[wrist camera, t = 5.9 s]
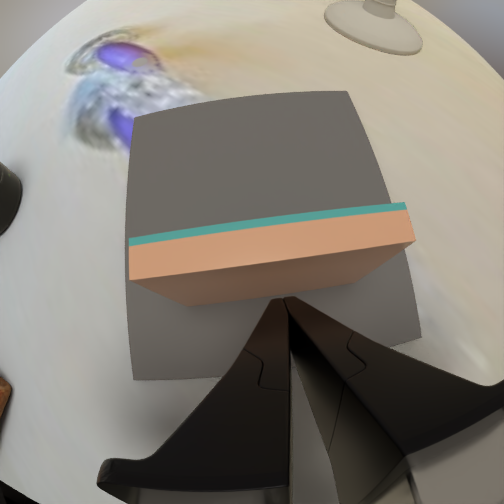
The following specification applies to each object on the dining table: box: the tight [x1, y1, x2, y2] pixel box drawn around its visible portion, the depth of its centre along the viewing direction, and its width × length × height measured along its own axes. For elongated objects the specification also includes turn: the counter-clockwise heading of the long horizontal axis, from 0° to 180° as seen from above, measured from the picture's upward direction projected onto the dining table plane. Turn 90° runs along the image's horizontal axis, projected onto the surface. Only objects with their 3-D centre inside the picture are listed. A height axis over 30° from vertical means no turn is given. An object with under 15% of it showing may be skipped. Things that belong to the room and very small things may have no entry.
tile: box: [129, 202, 416, 307], centre depth 13 cm, size 2×10×8 cm, turn 97°
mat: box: [125, 91, 422, 380], centre depth 19 cm, size 20×18×1 cm
